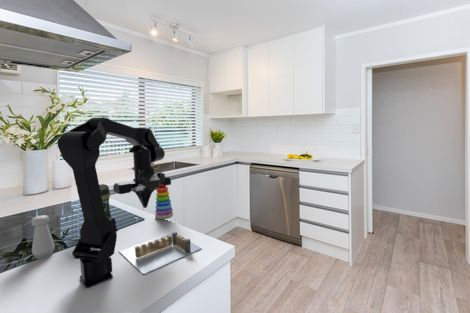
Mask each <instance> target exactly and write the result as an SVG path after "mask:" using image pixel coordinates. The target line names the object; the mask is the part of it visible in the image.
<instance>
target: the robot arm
mask: <svg viewBox="0 0 470 313" xmlns="http://www.w3.org/2000/svg"><path fill="white" fill-rule="evenodd" d="M108 135H109V136H111V137H116V138H121V139H123V140H126V142H127V143H128V144H131V145H132V147H131V148H129V150H128V152H129V153H131V154H132V155H133V156H132V157H133V166H132V171H133V172H134V174H133V175H134V178H133V182H131V183H130V182H127V181H122V182H121V181H120V182H115V183H114V184H113V186H112V189H113V192H114V193H117V194H118V195H124V194H129V193H131V192H134V194H136V196H137V198H138V199H139V201H140V204H141V206H142V208H144V209H146V208H148V205H149V202H150V199H151V196H152V194H153V192H154V191H155V190H156V189H157V188H159V187H160V184H161V183H162V185H164V186H170V185H172V180H171V178H170V177H169V176H167V175H165V174H166V173H164V171H159V172H155V169H154V166H152V163H154V162H157V161H162V160H164V157H165V154H166V153H165V150H164V148H162V147H161V146H160V143H159V142H158V141H157V138H156V136H155V135H154V133H153V131H152V129H151V128H147V127H133V126H131V125H130V126H129V125H128V124H124V123H121V122H118V121H115V120H112V119H110V118H108V117H105V116H103V117H101V116H99V117H98V116H97V117H91V118H89V119H88V120H87V121H85V122H84V123H81V124H80V125H76V127H73V128H72V129H71V128H70V130H69V131H65V132H63V133H62V134H61V135H60V137H59V138H58V139H57V148H58V150H59V153H60V155H61V157H62V159H63V160H64V161H65V163H66V164H67V165H68V166H69V167H70V168H71V170H72V173H73V177H74V182H75V187H76V190H77V191H76V192H77V195H78V198H79V202H80V208H81V213H82V216H83V223H82V225H81V227H80V229H79V235H80V236H79V237H80V238H79V240H78V242H77V243H76V245H75V247H74V249H73V251H72V252H71V254H72V256H73V258H74V259H75V260H77V259H78V260H79V264H80V273H81V274H80V275H79V279H80V281H81V282H82V284H83V285H84V287H85V288H86V289H89V288H90V287H93V286H96V285H98V284H100V283H103V282H105V281H108V280H109V279H112V278H114V276H113V273H112V272H113V262H112V256H113V255H114V254H115V249H116V243H117V237H118V235H117V232H119V229H118V228H117V222H116V219H115V218H114V217H111V218H108V217H107V216H106V215H105V211H104V206H103V202H102V197H101V192H100V187H99V185H100V183H99V182H100V181H99V179H98V173H97V168H96V164H97V162H98V160H99V157H100V154H101V152H100V147H101V145H102V144H104V143H105V141H106V140H107V136H108Z"/></svg>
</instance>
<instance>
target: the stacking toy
mask: <svg viewBox="0 0 470 313" xmlns="http://www.w3.org/2000/svg"><path fill="white" fill-rule="evenodd" d="M168 190H169V186H168V185H166V186H164V185H162V183H161V184H160V187H159V188H157V189H156V194H155V195H156V196H155V200H156V201H155V214H154V217H155V219H158V220H168V219H170V218H172V217H173V216H174V212H173V211H174V209H173V207H172V206H173V205H172V203H171V202H172V201H171V199H170V198H171V197H170V192H169V191H168Z"/></svg>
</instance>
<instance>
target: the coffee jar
mask: <svg viewBox="0 0 470 313" xmlns="http://www.w3.org/2000/svg"><path fill="white" fill-rule="evenodd" d="M99 187H100V192H101V197H102V202H103V206H104V211H105V215H106V216H107V217H108V218H112V215H111V208H110V197H111V191H110V187H109V185H107V184H104V183H102V184H99Z"/></svg>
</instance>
